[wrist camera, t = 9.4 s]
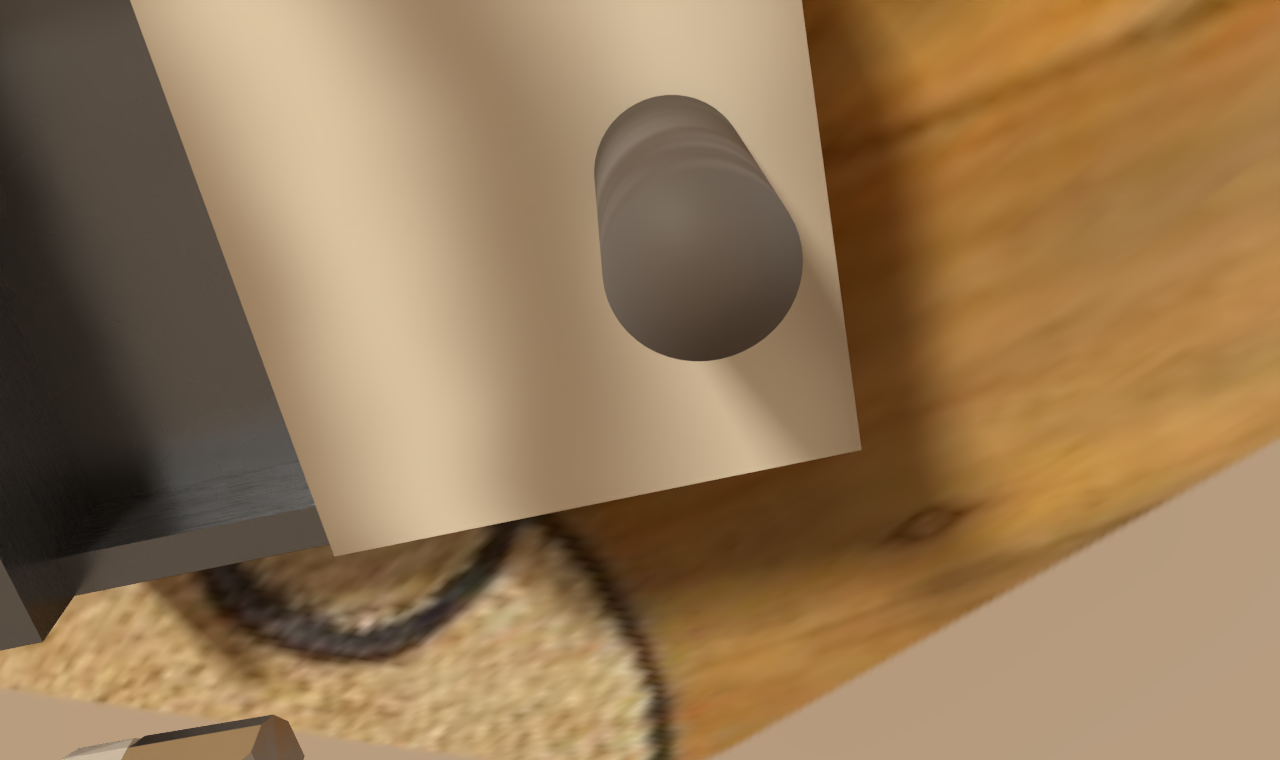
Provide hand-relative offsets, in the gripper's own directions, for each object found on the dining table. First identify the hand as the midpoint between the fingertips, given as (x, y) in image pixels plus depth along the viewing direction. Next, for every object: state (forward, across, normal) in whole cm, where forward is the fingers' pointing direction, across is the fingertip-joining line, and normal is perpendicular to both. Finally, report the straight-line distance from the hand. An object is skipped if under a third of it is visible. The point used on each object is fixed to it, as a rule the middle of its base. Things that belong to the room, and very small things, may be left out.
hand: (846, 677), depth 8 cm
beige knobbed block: (+22, +3, 0) cm, 23 cm away
